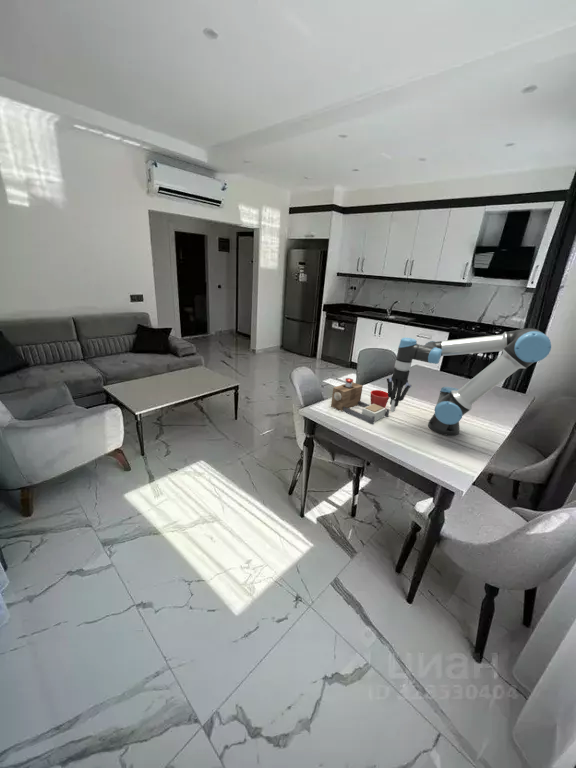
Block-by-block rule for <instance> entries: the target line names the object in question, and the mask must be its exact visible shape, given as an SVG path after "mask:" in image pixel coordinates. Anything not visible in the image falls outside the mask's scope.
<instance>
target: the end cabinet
mask: <svg viewBox="0 0 576 768" xmlns="http://www.w3.org/2000/svg"><path fill="white" fill-rule="evenodd" d="M345 385H346V383H344V384H340V385H338V386H334V387H333V388H332V396H331V403H330V407H332V408H333V409H335V410H338V411H339V412H344V411H343V407H347V408H349V409H351V408H353V407H356V406H359V405H358V401H361V399H362V393H363V387H364V386H363V385H362V384H358V383H356V382H354V381H353V382H352V387H351V388H350V389H348V388H346V387H345Z"/></svg>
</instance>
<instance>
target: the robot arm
mask: <svg viewBox="0 0 576 768" xmlns="http://www.w3.org/2000/svg"><path fill="white" fill-rule="evenodd" d="M551 349H552V342H551V339H550V337H549V336H548V335H547V334H546V333H544V332H543V331H540V330H539V329H538V328H537V329H536V328H529V327H528V328H521V329H516V330H510V331H504V332H503V333H501V334H496V335H495V334H494V335H486V336H485V335H484V336H476V337H466V338H458V339H449V340H441V341H440V340H439V341H435V340H431V341H428V342H426V343H425V344H424V345H422V344H418V343H417V339H416V338H412V337H402V338H401V339H400V341H399V345H398V349H397V354H396V359H395V363H394V368H393V371H392V376H391V377H389V378H386V382H387V393H388V397H389V399H390V401H389V404H390V409H389V412H391V413H394V412H396V408H397V407H398V406H399V403H400V402H402V401H403V400H404V399H405V397H406V396H407V393H408V391H409V390H410V389H411V387H412V384H410V383H409V380H408V379H409V375H410V370H411V367H412V363H413V360H414V361H418V362H419V361H420V362H425V363H428V364H435V365H436V364H437V365H438V364H439V363H440V360H441V358H442V357H444V356H458V355H469V354H472V355H473V354H481V353H493V352H502V354H501V355H500V356H499V357H497V358H496V359H494V361H492V362H491V363H489V364H488V365H487V366H486V367H485V368H484V369H483V370H481V371H480V372H479V373H477V374H476V375H475V376H473V378H470V380H469V381H467V382H466V383H465V384H464V385H463V386H461V387H460V388H456V387H451V386H443V387H441V388H440V391H439V396H438V398H437V402H436V405H435V406H434V413H433V415H432V416H431V418H430V419H428V420H429V421H428V423H427V427H428V428H429V429H430V430H431V431H432V432H435V433H437V434H440V435H443V436H449V437H451V436H458V435H459V432H460V421H461V420H462V418H463V416H464V415H465V414H467V413H468V412H469V411H471V410H472V406H473V404H474V403H475V402H477V401H478V400H479V399H481V398H482V397H484V396H485V395H486V394H487V393H489V392H490V391H491V390H493V389H494V388H495V387H496V386H498V385H499V384H501V383H502V382H503V381H505V380H506V379H507V378H508V377H510V376H511V375H512V374H514V373H516V372H517V371H518V370H519V369H527V368H528V367H530V366H531V365H533V364H534V363H538V362H540V361H542V360H544V359H545V358H547V357H548V355H550V353H551ZM404 386H405V387H404Z"/></svg>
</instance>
